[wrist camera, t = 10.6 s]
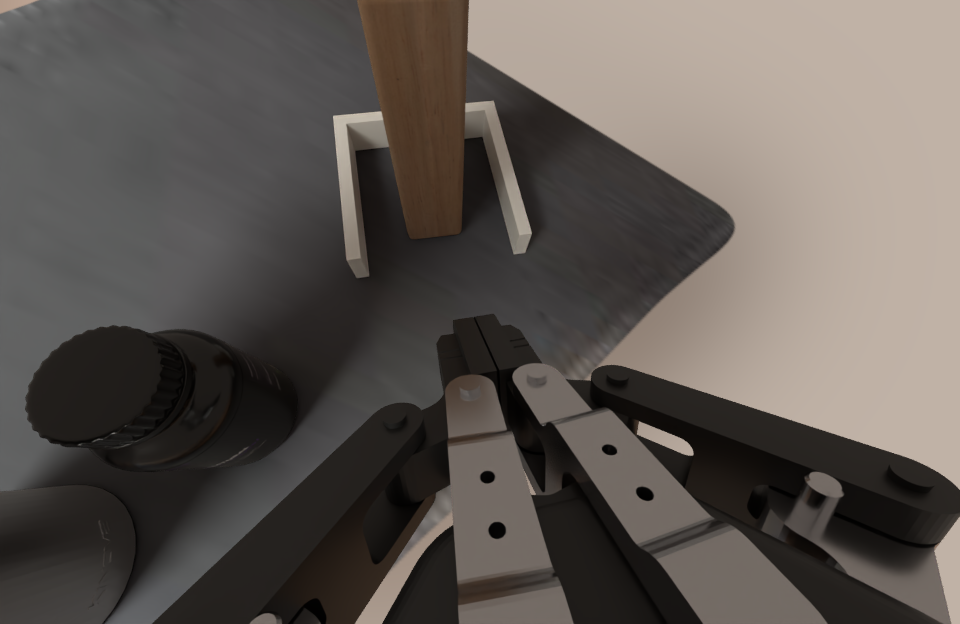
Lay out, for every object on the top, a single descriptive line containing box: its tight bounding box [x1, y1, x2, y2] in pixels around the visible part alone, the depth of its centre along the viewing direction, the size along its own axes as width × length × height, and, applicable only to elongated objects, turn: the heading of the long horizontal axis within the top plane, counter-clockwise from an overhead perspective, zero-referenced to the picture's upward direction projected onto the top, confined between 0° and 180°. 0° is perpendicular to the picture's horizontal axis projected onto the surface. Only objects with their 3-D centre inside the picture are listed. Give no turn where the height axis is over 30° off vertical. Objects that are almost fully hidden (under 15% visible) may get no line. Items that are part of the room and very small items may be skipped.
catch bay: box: [333, 101, 532, 278], centre depth 31 cm, size 14×14×3 cm
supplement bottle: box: [25, 325, 298, 472], centre depth 20 cm, size 7×7×12 cm
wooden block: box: [357, 0, 469, 239], centre depth 24 cm, size 9×4×18 cm, turn 10°
